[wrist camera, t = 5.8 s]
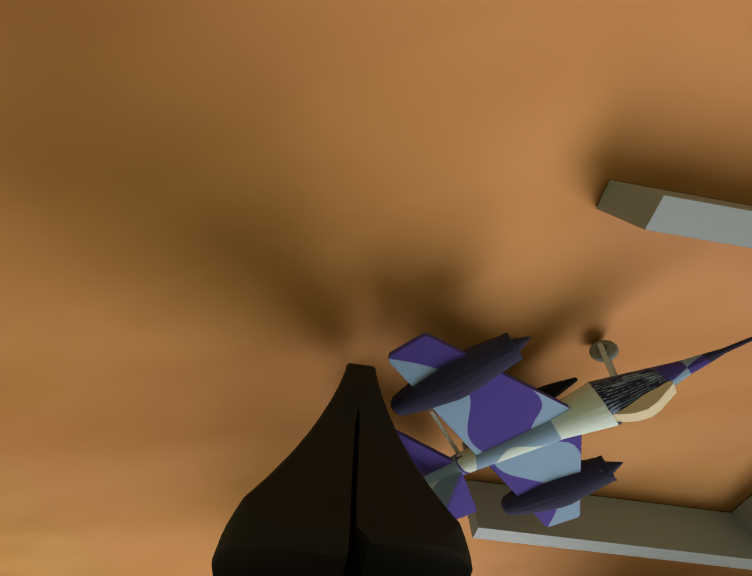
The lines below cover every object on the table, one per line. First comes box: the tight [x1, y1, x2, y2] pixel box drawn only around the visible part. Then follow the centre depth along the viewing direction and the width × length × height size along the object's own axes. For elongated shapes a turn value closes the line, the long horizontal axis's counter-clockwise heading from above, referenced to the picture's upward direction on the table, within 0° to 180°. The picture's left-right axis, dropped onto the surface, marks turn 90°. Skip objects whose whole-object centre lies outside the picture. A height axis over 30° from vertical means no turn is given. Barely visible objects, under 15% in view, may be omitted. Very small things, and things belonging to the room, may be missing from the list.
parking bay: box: [466, 180, 752, 570], centre depth 15 cm, size 18×18×2 cm
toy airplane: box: [389, 332, 752, 527], centre depth 14 cm, size 13×14×4 cm
